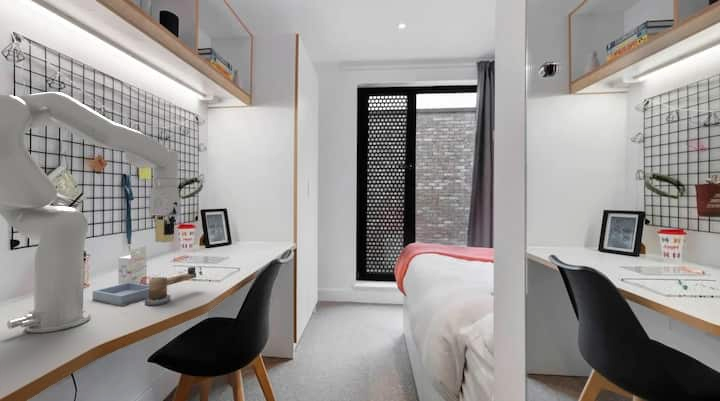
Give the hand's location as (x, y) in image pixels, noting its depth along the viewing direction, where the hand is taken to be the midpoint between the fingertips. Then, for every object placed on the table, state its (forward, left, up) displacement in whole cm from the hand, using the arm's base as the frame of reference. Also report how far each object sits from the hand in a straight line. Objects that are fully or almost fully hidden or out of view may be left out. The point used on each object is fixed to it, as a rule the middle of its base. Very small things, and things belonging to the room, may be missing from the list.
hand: (164, 233), depth 113 cm
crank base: (-6, -2, -21) cm, 22 cm away
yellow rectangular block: (0, 0, -3) cm, 3 cm away
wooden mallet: (-3, -9, -19) cm, 21 cm away
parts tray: (-10, +6, -21) cm, 24 cm away
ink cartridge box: (0, +17, -21) cm, 27 cm away
